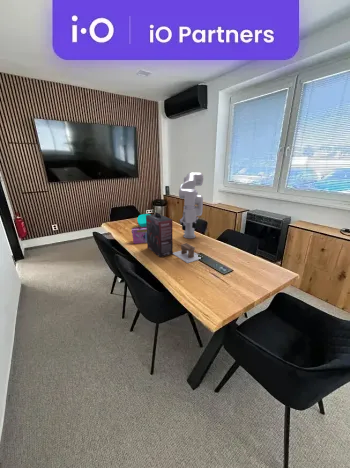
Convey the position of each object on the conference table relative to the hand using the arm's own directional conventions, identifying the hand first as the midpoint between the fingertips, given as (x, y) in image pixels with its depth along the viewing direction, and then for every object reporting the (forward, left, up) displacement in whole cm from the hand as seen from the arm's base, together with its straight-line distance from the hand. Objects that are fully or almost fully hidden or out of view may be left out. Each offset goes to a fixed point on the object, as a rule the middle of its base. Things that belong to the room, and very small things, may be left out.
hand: (188, 229), depth 157 cm
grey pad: (0, -1, -22) cm, 22 cm away
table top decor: (-81, +8, -23) cm, 84 cm away
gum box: (-48, -15, -23) cm, 55 cm away
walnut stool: (0, -1, -22) cm, 22 cm away
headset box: (-21, -15, -23) cm, 34 cm away
